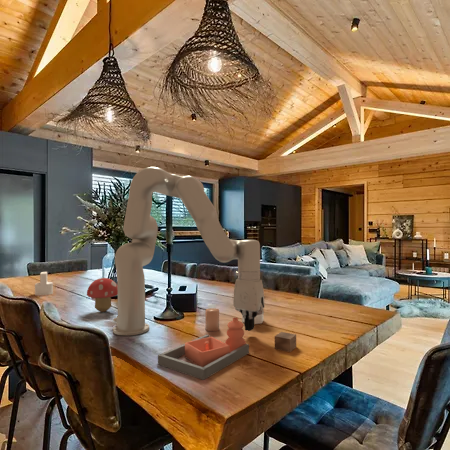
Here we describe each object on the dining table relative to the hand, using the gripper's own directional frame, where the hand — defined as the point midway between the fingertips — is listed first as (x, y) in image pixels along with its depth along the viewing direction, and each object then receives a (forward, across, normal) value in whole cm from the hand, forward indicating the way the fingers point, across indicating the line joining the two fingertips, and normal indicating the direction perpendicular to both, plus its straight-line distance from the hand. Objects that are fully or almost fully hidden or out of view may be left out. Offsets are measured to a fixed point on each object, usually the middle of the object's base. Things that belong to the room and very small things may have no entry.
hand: (249, 329), depth 113 cm
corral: (+2, 0, -24) cm, 24 cm away
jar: (+2, -8, +16) cm, 18 cm away
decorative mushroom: (+2, -70, -9) cm, 71 cm away
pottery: (+3, +2, -19) cm, 19 cm away
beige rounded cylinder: (+2, -15, -1) cm, 15 cm away
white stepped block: (+2, -134, -4) cm, 134 cm away
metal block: (+2, +15, -3) cm, 16 cm away
